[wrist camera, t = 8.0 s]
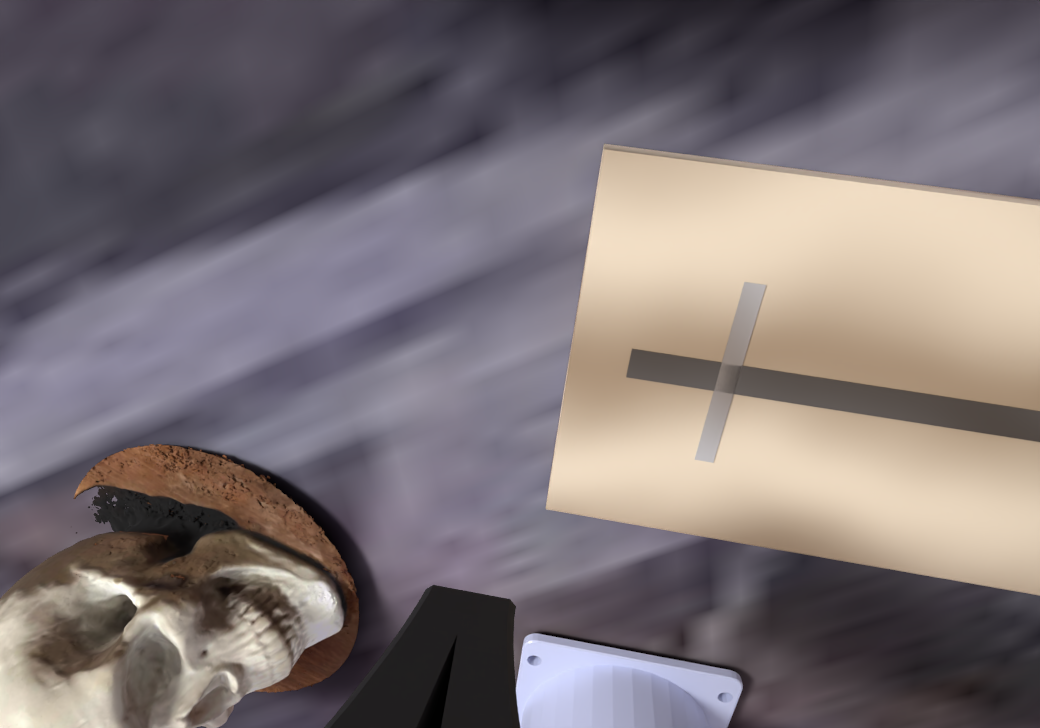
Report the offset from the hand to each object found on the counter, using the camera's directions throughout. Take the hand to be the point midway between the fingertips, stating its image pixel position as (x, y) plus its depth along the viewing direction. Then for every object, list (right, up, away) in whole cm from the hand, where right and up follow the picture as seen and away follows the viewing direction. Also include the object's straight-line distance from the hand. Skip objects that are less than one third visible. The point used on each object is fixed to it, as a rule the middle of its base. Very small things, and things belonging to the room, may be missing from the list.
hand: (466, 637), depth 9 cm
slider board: (+12, +4, +7) cm, 15 cm away
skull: (-11, -4, +14) cm, 18 cm away
